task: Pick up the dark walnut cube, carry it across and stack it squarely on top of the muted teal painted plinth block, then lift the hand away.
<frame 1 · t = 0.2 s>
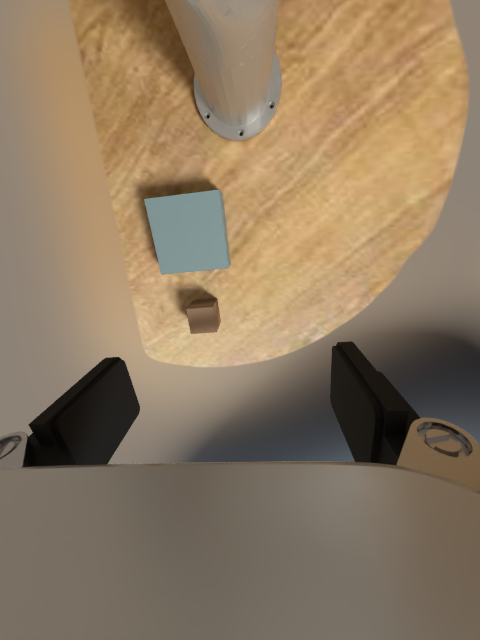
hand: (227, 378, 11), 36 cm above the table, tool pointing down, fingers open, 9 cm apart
plinth block: (193, 234, 43), on the table
walnut cube: (206, 311, 48), on the table
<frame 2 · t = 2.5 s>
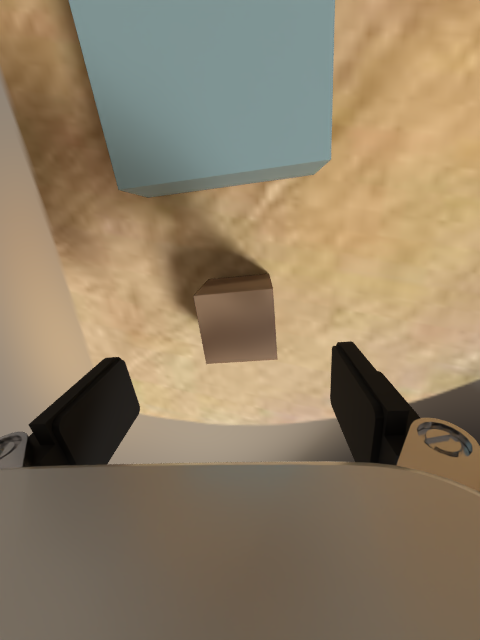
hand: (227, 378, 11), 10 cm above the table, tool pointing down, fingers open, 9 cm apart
plinth block: (215, 77, 15), on the table
walnut cube: (241, 305, 20), on the table
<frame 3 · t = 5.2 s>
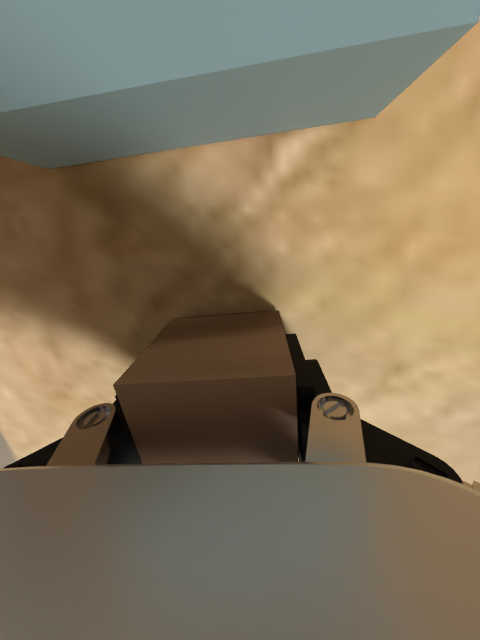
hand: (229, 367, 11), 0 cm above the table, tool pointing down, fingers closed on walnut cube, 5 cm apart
walnut cube: (231, 361, 12), on the table, touching gripper
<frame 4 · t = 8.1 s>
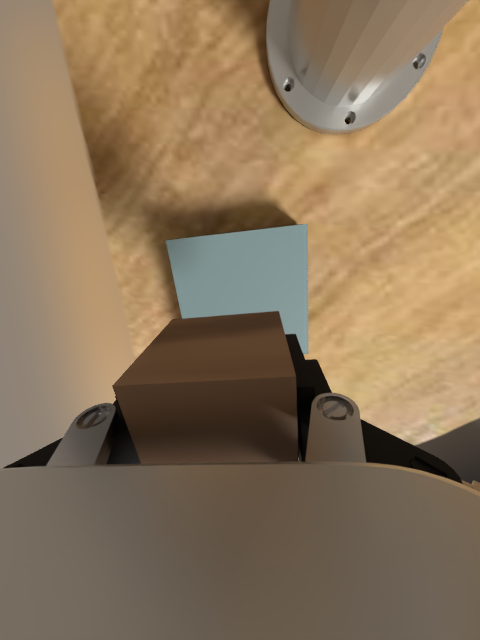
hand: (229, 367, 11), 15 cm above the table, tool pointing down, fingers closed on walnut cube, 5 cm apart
plinth block: (244, 290, 26), on the table
walnut cube: (231, 361, 12), point 15 cm above the table, touching gripper
when the fingers open (6 cm above the table, at t = 11.1 s): walnut cube drops 1 cm, resting on plinth block.
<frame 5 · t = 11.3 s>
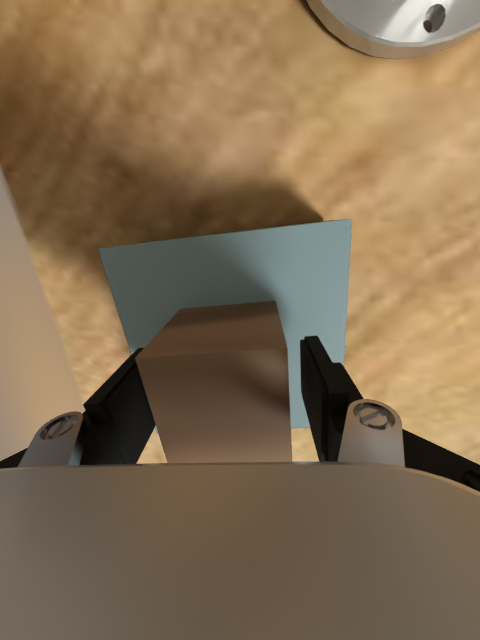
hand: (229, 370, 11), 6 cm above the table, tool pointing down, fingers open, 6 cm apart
plinth block: (238, 321, 17), on the table
walnut cube: (232, 347, 13), point 4 cm above the table, touching plinth block
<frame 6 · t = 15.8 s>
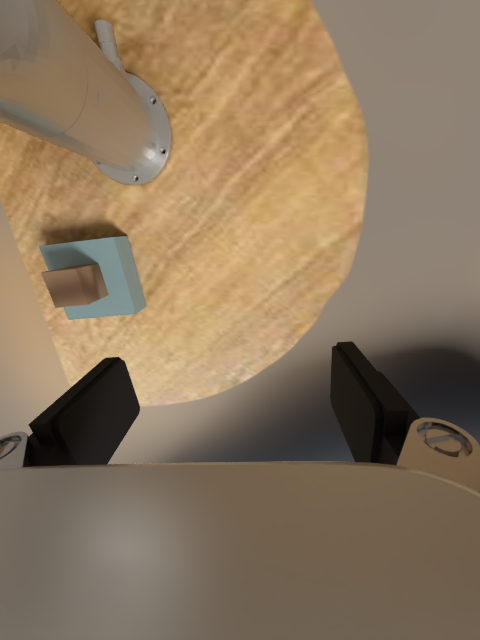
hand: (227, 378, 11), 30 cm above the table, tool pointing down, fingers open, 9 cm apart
plinth block: (104, 276, 41), on the table
walnut cube: (89, 281, 37), point 4 cm above the table, touching plinth block
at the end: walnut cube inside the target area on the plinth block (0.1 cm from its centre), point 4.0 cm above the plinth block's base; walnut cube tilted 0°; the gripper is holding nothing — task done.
